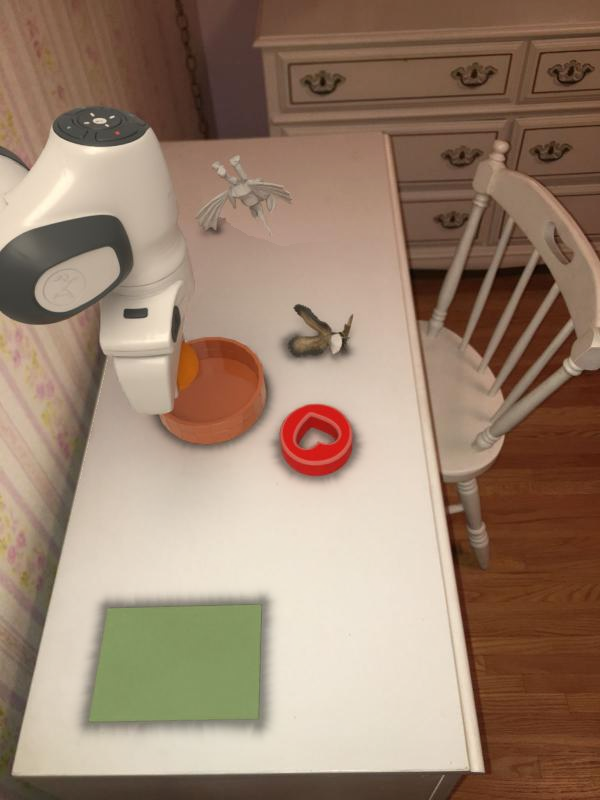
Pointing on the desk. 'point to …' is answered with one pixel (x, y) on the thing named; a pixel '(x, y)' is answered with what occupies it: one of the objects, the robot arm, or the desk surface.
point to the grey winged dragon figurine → (242, 195)
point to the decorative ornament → (321, 455)
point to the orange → (187, 366)
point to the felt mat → (179, 664)
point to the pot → (219, 393)
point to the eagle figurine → (323, 340)
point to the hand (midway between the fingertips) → (174, 369)
